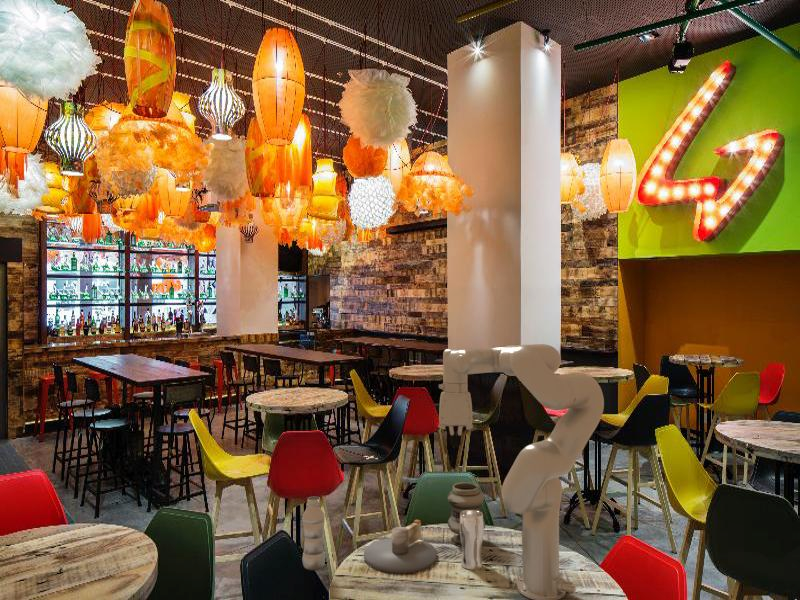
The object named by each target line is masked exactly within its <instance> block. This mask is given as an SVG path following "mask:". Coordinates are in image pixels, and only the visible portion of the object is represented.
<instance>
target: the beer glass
mask: <svg viewBox="0 0 800 600" xmlns="http://www.w3.org/2000/svg"><path fill="white" fill-rule="evenodd" d="M483 520H484V514H483V512H482V511H481V512H480V511H477V510H464V511H462V512H461V513H460V537H461V543H462V547H461V549H462V559H461V567H464V568H463V569H465V568H466V569H465V570H471V571H476V570H480V569H482V568H483V560H482V547H483V540H484V531H485V528H484V525H483Z"/></svg>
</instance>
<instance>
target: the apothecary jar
mask: <svg viewBox="0 0 800 600" xmlns="http://www.w3.org/2000/svg"><path fill="white" fill-rule="evenodd" d="M447 501H448V503H449V504H450V505H451V508H450V509H451V511H450V512H451V513H450V514H451V515H450V517H449V519H448V520H447V526H448V528H449V530H450V531H451V532H452V533H454V534H456V535H454V536H453V537H451V539H450V541H451V543H452V545H454V546H458V547H460V548H462V543H461V537H460V513H461V512H462V511H464V510H477V511H480V512H482V508H481V506H482V505H483V504H484V503H485V496H484V494H483V493H482V492H481V490H480V487H479V484H477V483H474V482H468V481H467V482H465V481H463V482H456V483H454V484H453V485H452V488H451V491H450V492H449V493H448V494H447ZM483 525H484V529H485V528H486V522H485V520H484V519H483Z"/></svg>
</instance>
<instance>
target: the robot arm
mask: <svg viewBox="0 0 800 600" xmlns="http://www.w3.org/2000/svg"><path fill="white" fill-rule="evenodd" d="M442 355H443V356H442V365H443V366H442V368H443V370H442V373H443V374H442V377H443V378H442V380H443V381H442V382H443V383H441V384H440V383H439V384H438V389H439V390H442V391H441V393H440V397H439V410H438V411H439V413H438V416H439V418H438V419H439V422H438V428H439V429H441V430H445V431H446V432H448V433H449V435H450V445H451V446H452V448H453V449H459V446H461V445H462V441H461V439H462V434H463V433H465V431H466V430H471V429H473V428H474V424H473V404H472V397H471V392H469V390H468V375H474V374H485V373H489V374H490V373H503V374H505V375H506V376H509V377H510V376H511V377H512V376H513V377H516V378H517V379H518V380H519V381H520V382H521V384H522V385H523V386H524V387H525V388H526V389H527V390H528V391H529V392H530V394H531V395H532V396H533V397H534V398H535V399H536V400H537V401H538V402H539V403H540V404H541V405H542V406H543V407H545V408H546V409H548V410H552V411H563V410H566V411H565V413H563V415H562V416H561V417H560V418H559V419H558V421H557V422H556V424H555V426H554V428H553V430H552V431H551V433H550V434H549V436H548V437H546V439H544V440H541V441H537V442H533V443H531V444H530V443H529V444H528V445H526V446H524V448H523V449H522V450H520V452H519V453H518V455H517V456H516V458H515V460H514V462H513V464H512V465H511V468H510V469H509V471H508V472H507V475H506V476H505V478H504V481H503V483H502V486H501V487H502V488H501V498H502V501H503V502H502V503H503V504H504V506H505V507H506V509H507V510H509V511H511V512H512V513H514V514H517V515H518V514H519V515H522V523H521V527H522V528H521V530H522V531H521V538H522V539H521V543H522V544H521V545H522V547H521V548H522V552H521V553H522V555H521V556H522V559H521V560H522V577H520V578H519V579H518V580H517V582H516V590H517V591H518V593H519V594H521V595H522V596H524V597H526V598H528V599H531V600H562V599H563V598H564V597H566V593H569V594H573V595H575V594H576V591H577V587H576V585H575V584H574V581H572V580H566V579H565V578H564V573H563V572H560V509H561V504H562V497H563V485H562V483H561V480H560V479H561V477H564V476H566V475H568V474H569V473H570V472H571V470H572V469H573V467H574V466H575V465H576V462H577V460H578V459H579V457H580V456H581V454H582V452H583V450H584V449H585V447H586V446H587V444H588V441H589V440H590V439H591V437H592V435H593V433H594V432H595V430H596V429H597V427H598V425H599V423H600V421H601V419H602V416H603V413H604V408H605V398H604V394H603V391H602V388H601V385H600V384H599V382H598V381H597V380H596V379H595V378H594V377H592V376H590V375H588V374H586V373H581V372H579V373H578V372H577V373H576V372H575V373H574V372H572V373H565V374H556V372H557V371H558V370H559V368H560V366H561V362H562V357H561V353H559V351H558V350H557V348H555V347H554V346H552V345H550V344H545V343H540V344H537V343H536V344H514V345H510V344H509V345H505V346H504V347H486V348H484V347H481V348H446V349H444V351H443V353H442ZM454 427H457V431H456V432H455V431H454Z"/></svg>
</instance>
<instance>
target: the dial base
mask: <svg viewBox="0 0 800 600" xmlns="http://www.w3.org/2000/svg"><path fill="white" fill-rule="evenodd" d="M437 556H438V555H437V549H436V547H435V546H433V545H432V544H431V543H429V542H427V541H425V540H424V539H423V540H421V539H419V540H417V541H415V542H414V543H412V544H410V545H409V551H408V552H407V553H405V554H395V553H393V552H392V537H389V538H384V539H380V540H376V541H374V542H372V543H370V544H369V545H367V546H366V547H365V548H364V551H363V560H364V559H365V560H364V562H365V561H366V562H365V563H366V565H368V566H369V567H370V566H371V569H372V568H373V569H374V570H377V571H379V572H380V571H381V572H385V573H391V574H409V573H414V572H415V573H417V572H420V571H423V570H425V569H428V568H430V567H431V566H433V565H435V563H436V561H437V559H438V557H437Z"/></svg>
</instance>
